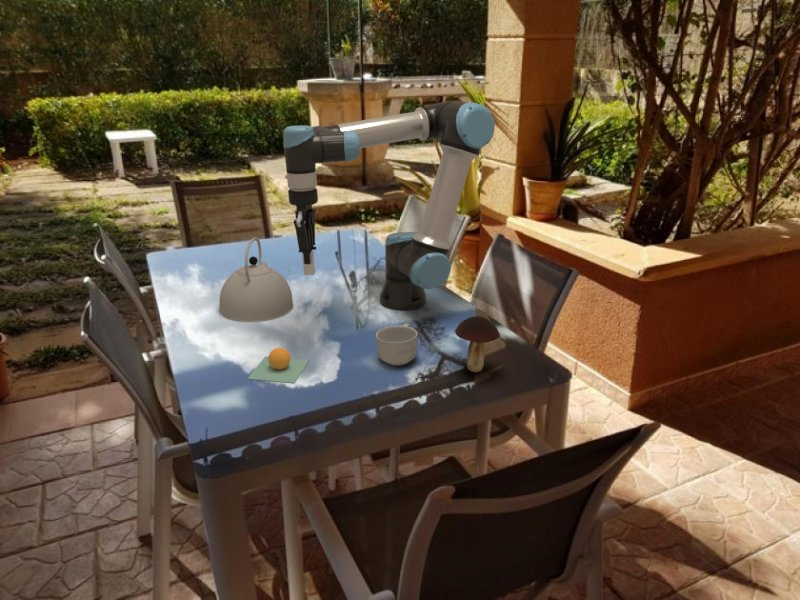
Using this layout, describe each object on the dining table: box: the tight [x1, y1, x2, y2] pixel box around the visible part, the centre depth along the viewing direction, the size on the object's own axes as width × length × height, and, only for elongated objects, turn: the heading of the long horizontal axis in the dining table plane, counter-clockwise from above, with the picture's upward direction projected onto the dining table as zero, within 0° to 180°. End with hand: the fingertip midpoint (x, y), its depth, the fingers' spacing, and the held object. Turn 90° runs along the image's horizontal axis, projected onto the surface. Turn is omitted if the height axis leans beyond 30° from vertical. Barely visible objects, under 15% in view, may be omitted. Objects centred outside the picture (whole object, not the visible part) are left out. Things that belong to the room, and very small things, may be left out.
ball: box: [267, 347, 291, 369], centre depth 150 cm, size 6×6×6 cm
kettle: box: [219, 236, 294, 323], centre depth 185 cm, size 25×23×22 cm
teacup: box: [375, 323, 418, 367], centre depth 155 cm, size 14×11×8 cm
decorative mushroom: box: [454, 315, 501, 373], centre depth 148 cm, size 11×11×15 cm
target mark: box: [247, 356, 310, 384], centre depth 150 cm, size 12×12×1 cm
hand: (309, 273), depth 162 cm, fingers closed
